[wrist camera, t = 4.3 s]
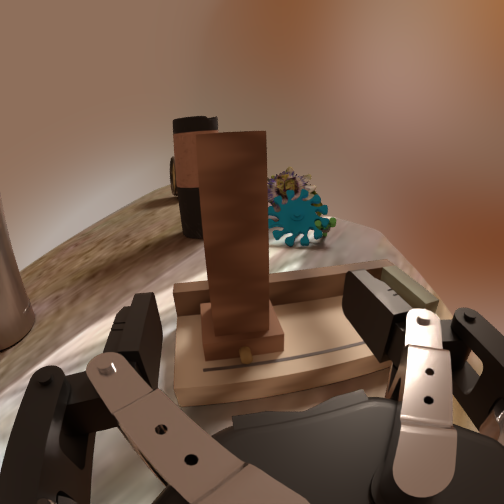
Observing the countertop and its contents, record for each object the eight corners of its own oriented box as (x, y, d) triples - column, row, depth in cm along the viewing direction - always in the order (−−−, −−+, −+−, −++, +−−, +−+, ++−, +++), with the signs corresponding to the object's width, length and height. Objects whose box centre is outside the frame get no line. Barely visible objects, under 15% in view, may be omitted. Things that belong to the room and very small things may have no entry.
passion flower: (286, 245, 59) (248, 200, 55) (287, 220, 68) (255, 180, 64) (334, 218, 54) (298, 167, 50) (328, 195, 63) (297, 152, 59)
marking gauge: (206, 371, 18) (176, 135, 13) (202, 319, 24) (183, 136, 18) (287, 360, 19) (291, 130, 14) (268, 311, 25) (264, 131, 19)
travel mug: (181, 227, 55) (173, 121, 47) (221, 223, 56) (215, 117, 48) (181, 241, 48) (170, 118, 40) (227, 236, 49) (220, 114, 41)
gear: (255, 234, 44) (275, 181, 47) (262, 249, 50) (279, 200, 53) (327, 252, 41) (342, 195, 44) (326, 266, 47) (339, 213, 50)
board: (179, 406, 18) (165, 362, 16) (181, 324, 27) (174, 283, 25) (434, 350, 21) (449, 308, 19) (380, 295, 30) (386, 258, 28)
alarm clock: (170, 195, 85) (166, 142, 79) (188, 193, 87) (184, 140, 80) (176, 202, 75) (171, 142, 69) (196, 199, 77) (191, 139, 71)
